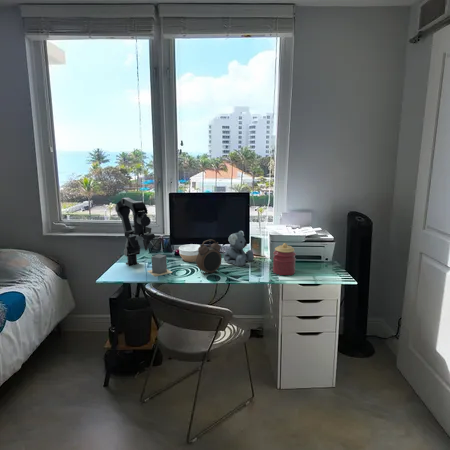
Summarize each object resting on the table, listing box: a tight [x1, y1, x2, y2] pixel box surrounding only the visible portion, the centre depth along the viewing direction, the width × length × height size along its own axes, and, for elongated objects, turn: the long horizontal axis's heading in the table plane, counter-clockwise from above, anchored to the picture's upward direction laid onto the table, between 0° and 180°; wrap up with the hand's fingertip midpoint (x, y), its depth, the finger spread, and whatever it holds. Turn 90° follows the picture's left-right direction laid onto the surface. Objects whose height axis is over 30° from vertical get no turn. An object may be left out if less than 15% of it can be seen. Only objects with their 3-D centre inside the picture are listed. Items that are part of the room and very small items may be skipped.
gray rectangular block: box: [151, 253, 168, 274], centre depth 203 cm, size 6×6×10 cm
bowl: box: [178, 243, 201, 263], centre depth 229 cm, size 16×16×8 cm
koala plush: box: [223, 230, 255, 267], centre depth 223 cm, size 17×18×20 cm
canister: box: [272, 242, 297, 276], centre depth 203 cm, size 13×13×18 cm
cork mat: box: [146, 268, 173, 278], centre depth 205 cm, size 11×11×1 cm
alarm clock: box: [195, 239, 222, 276], centre depth 201 cm, size 15×7×20 cm, turn 126°
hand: (140, 249), depth 206 cm, fingers open, 9 cm apart
